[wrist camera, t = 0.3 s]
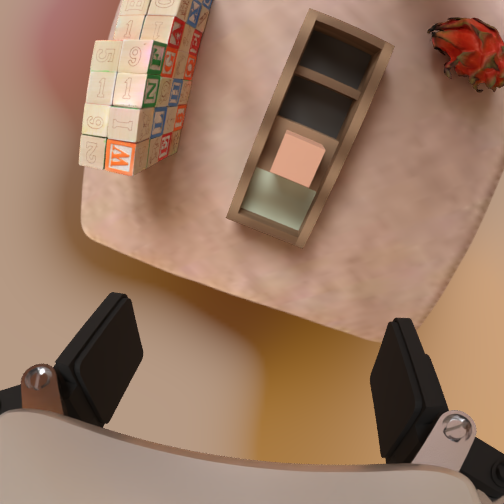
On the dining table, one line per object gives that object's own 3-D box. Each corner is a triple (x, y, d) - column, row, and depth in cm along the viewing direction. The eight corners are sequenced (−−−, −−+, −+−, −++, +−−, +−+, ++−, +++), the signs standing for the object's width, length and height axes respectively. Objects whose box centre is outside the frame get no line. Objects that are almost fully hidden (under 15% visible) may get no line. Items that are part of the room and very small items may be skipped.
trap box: (307, 20, 28) (309, 8, 24) (382, 52, 29) (394, 46, 24) (234, 203, 39) (225, 218, 35) (302, 231, 40) (302, 248, 35)
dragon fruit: (494, 85, 28) (415, 45, 30) (518, 37, 21) (433, -9, 22) (508, 119, 25) (418, 71, 26) (541, 65, 17) (442, 6, 19)
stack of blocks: (168, -14, 28) (120, -47, 17) (216, -11, 28) (183, -51, 17) (133, 144, 38) (76, 166, 27) (177, 153, 38) (131, 178, 27)
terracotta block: (286, 129, 32) (285, 133, 28) (322, 144, 32) (325, 150, 28) (272, 163, 34) (269, 171, 30) (307, 178, 34) (308, 187, 30)
